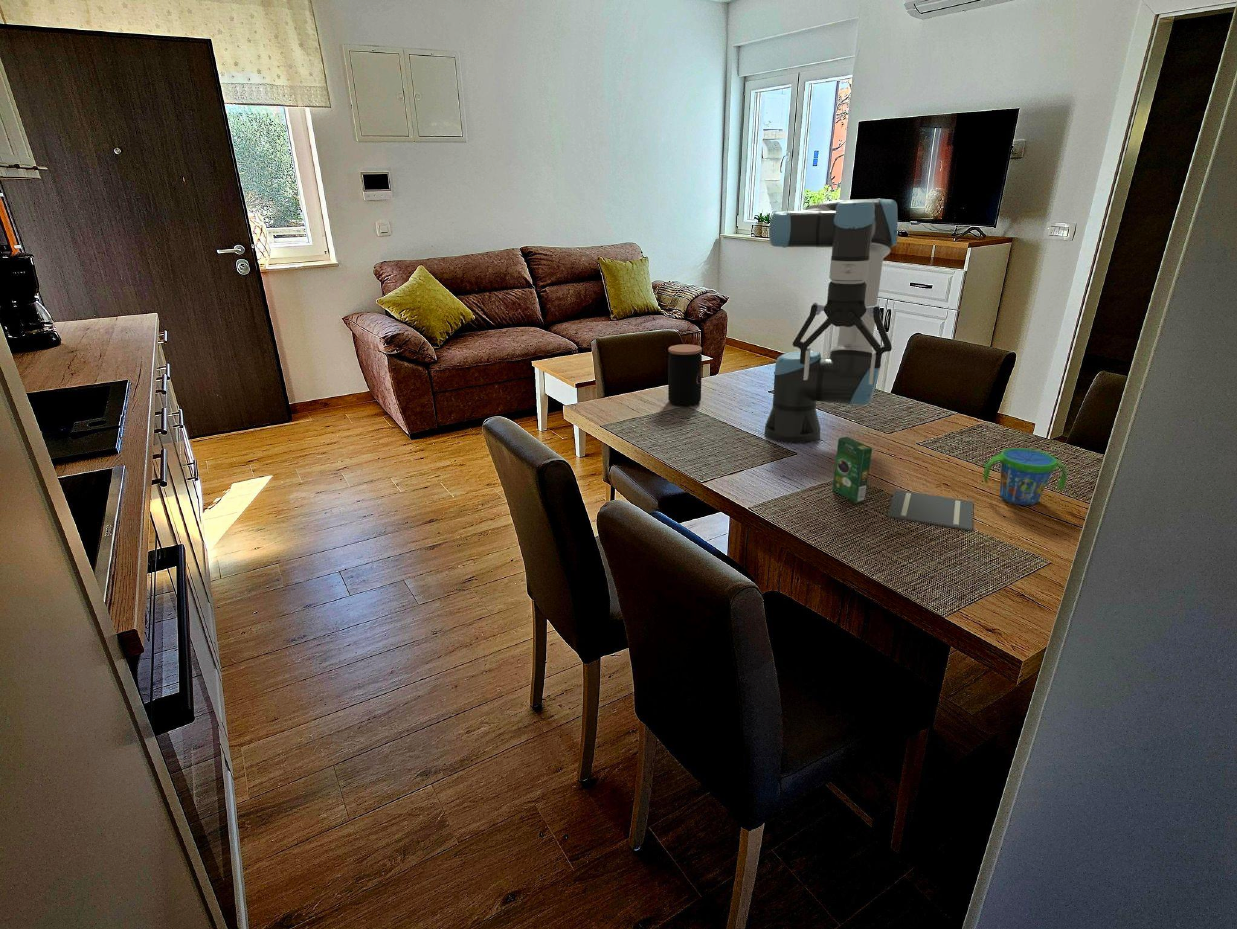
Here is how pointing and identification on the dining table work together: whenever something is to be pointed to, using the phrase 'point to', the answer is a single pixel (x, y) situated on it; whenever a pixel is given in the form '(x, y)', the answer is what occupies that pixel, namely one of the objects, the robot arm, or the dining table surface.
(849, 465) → the coffee box
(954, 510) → the mat
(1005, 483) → the snack cup
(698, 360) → the coffee jar
